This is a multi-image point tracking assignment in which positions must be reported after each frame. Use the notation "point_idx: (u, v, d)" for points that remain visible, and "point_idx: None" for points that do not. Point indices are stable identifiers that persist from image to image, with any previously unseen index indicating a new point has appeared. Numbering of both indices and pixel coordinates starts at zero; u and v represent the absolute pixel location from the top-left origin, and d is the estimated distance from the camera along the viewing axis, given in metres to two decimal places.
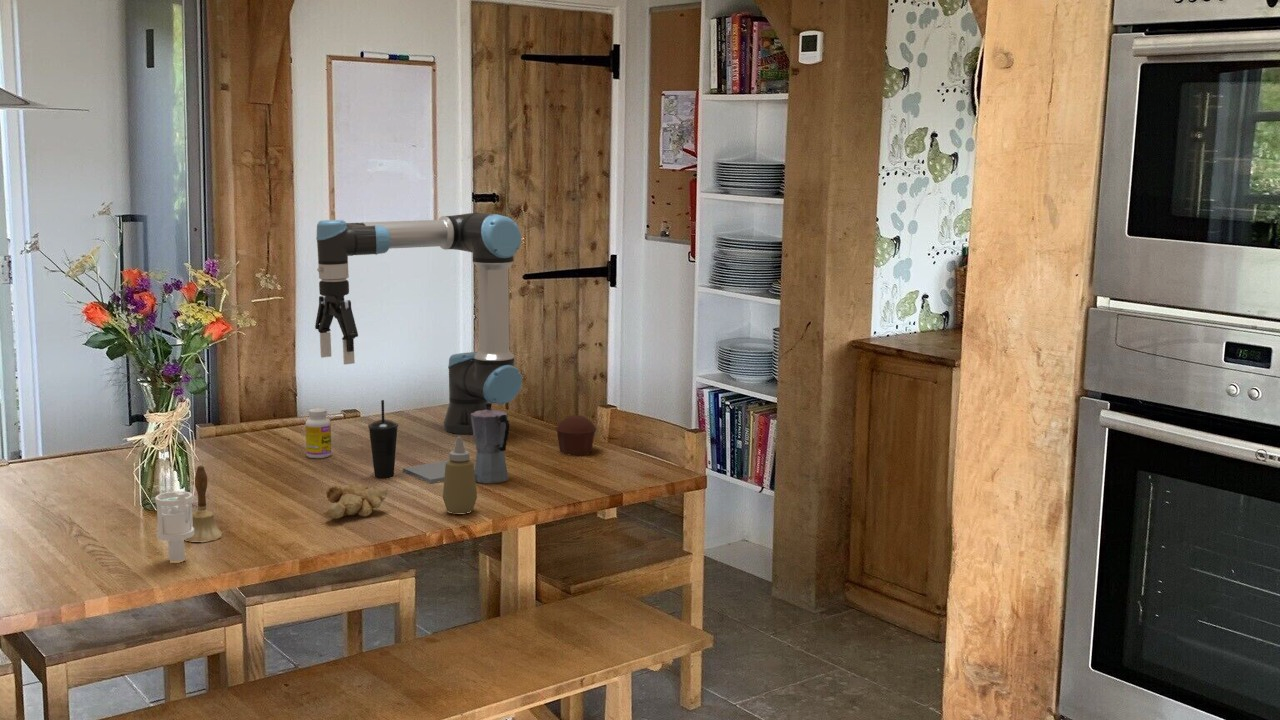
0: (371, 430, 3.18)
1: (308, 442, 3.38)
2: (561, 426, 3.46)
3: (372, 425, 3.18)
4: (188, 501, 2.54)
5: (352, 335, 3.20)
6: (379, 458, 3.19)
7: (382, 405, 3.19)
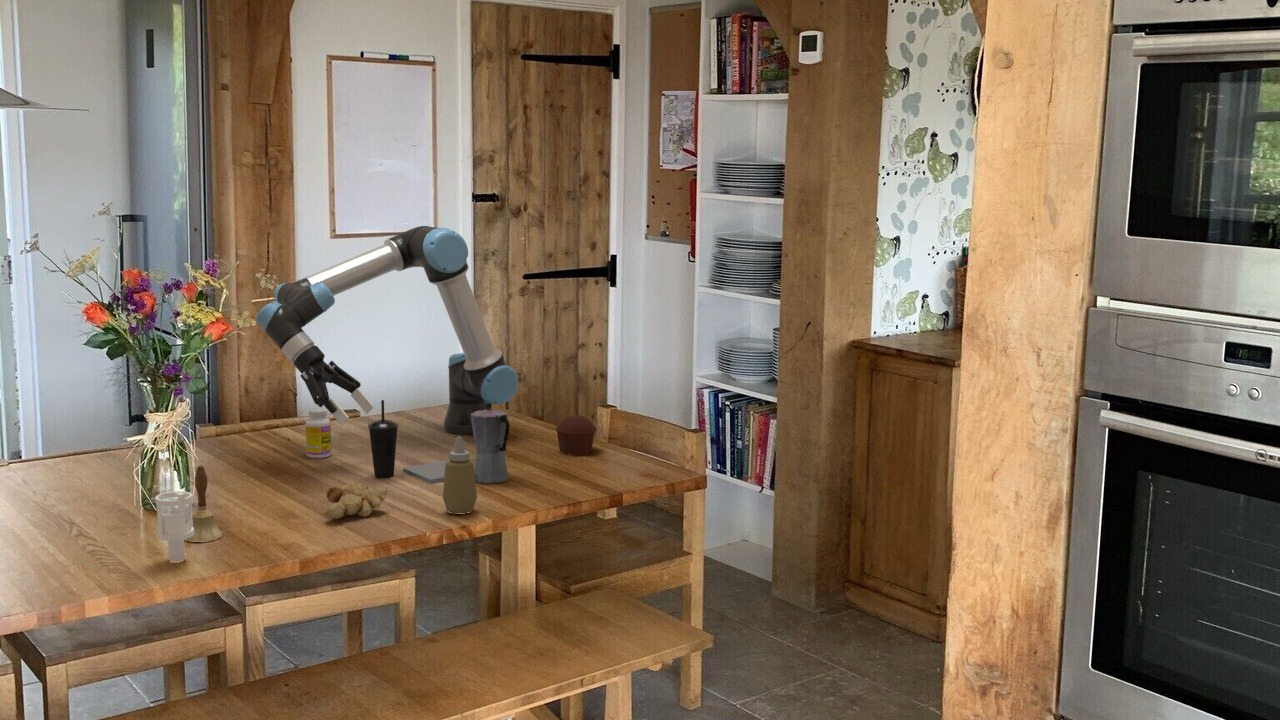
0: (371, 430, 3.18)
1: (308, 442, 3.38)
2: (561, 426, 3.46)
3: (372, 425, 3.18)
4: (188, 501, 2.54)
5: (317, 401, 3.11)
6: (379, 458, 3.19)
7: (382, 405, 3.19)
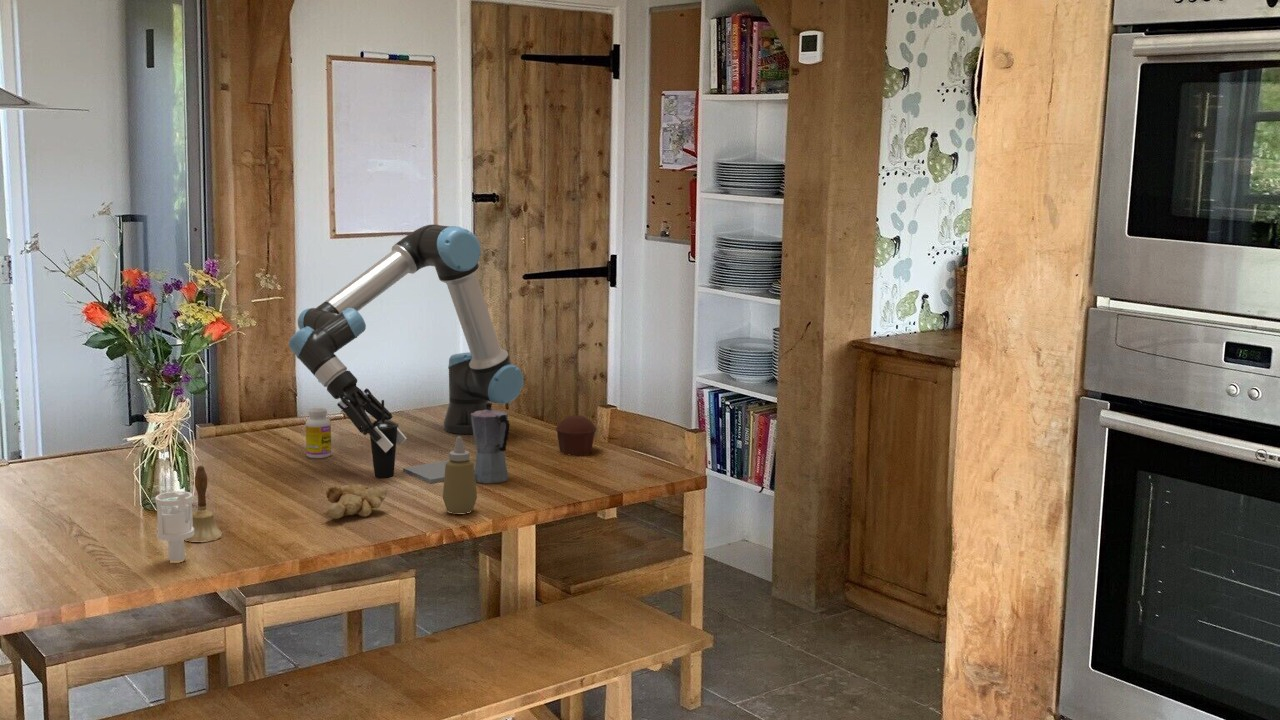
0: None
1: (308, 442, 3.38)
2: (561, 426, 3.46)
3: None
4: (188, 501, 2.54)
5: (362, 429, 3.14)
6: (379, 458, 3.19)
7: (382, 405, 3.19)
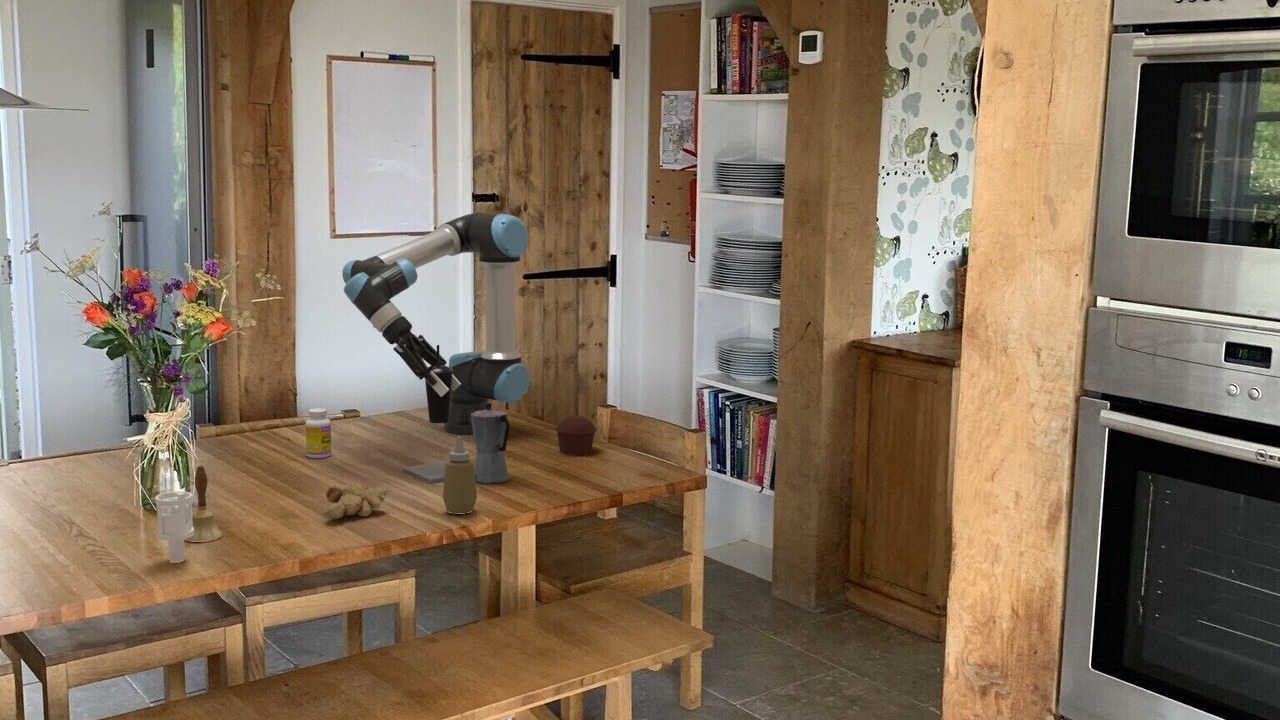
0: None
1: (308, 442, 3.38)
2: (561, 426, 3.46)
3: None
4: (188, 501, 2.54)
5: (418, 373, 3.15)
6: (434, 403, 3.20)
7: (437, 350, 3.20)
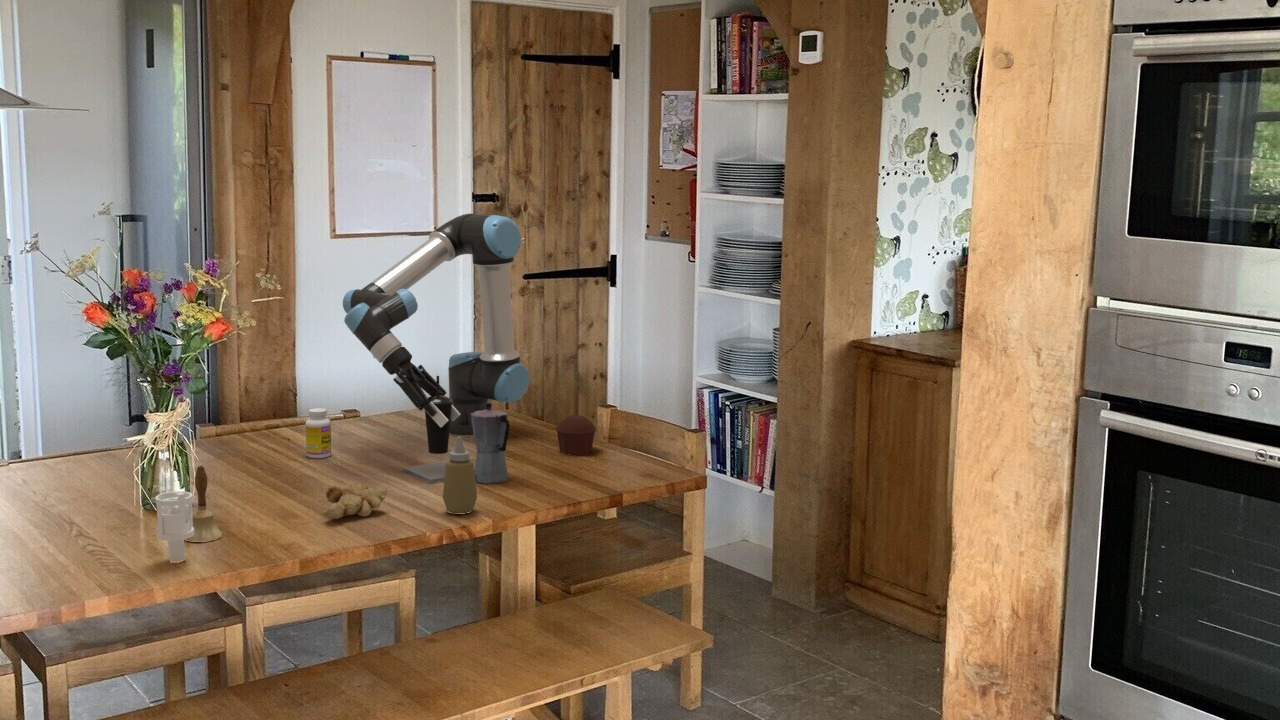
0: None
1: (308, 442, 3.38)
2: (561, 426, 3.46)
3: None
4: (188, 501, 2.54)
5: (418, 404, 3.16)
6: (434, 433, 3.21)
7: (437, 381, 3.21)
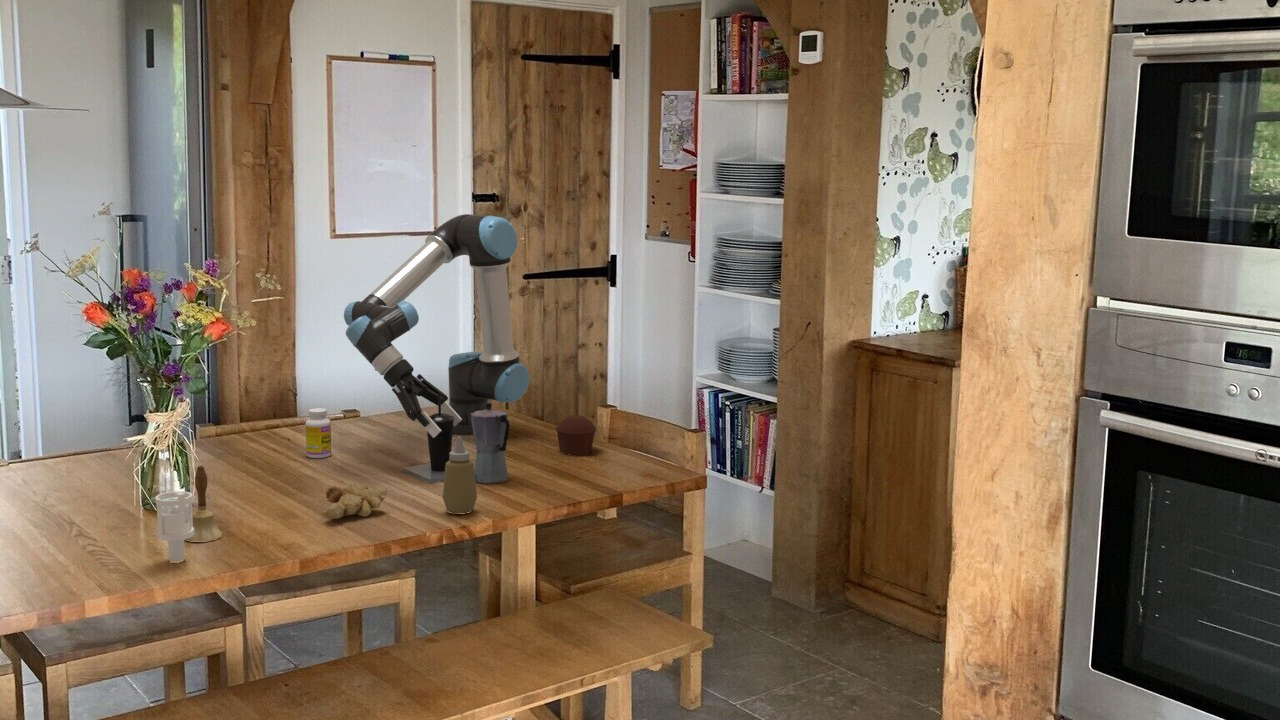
0: None
1: (308, 442, 3.38)
2: (561, 426, 3.46)
3: None
4: (188, 501, 2.54)
5: (410, 414, 3.14)
6: (436, 451, 3.22)
7: (439, 399, 3.23)
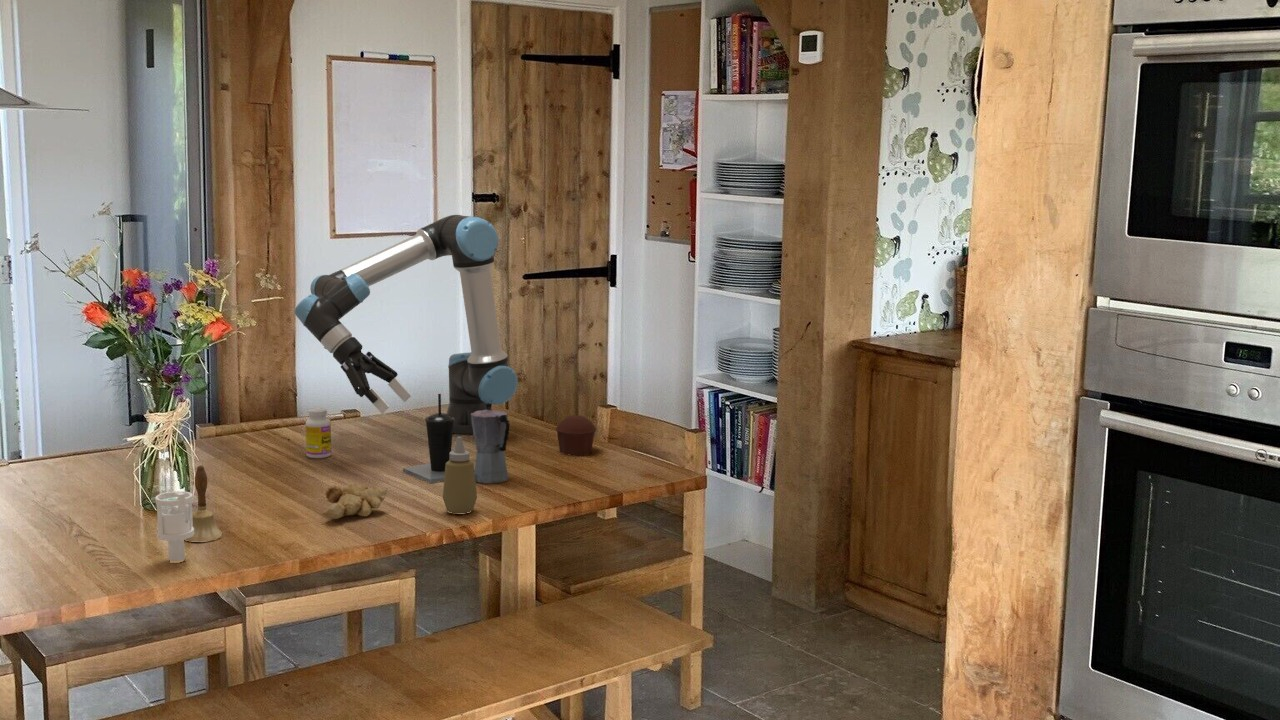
0: (428, 423, 3.21)
1: (308, 442, 3.38)
2: (561, 426, 3.46)
3: (429, 418, 3.22)
4: (188, 501, 2.54)
5: (358, 391, 3.19)
6: (436, 451, 3.22)
7: (439, 399, 3.23)
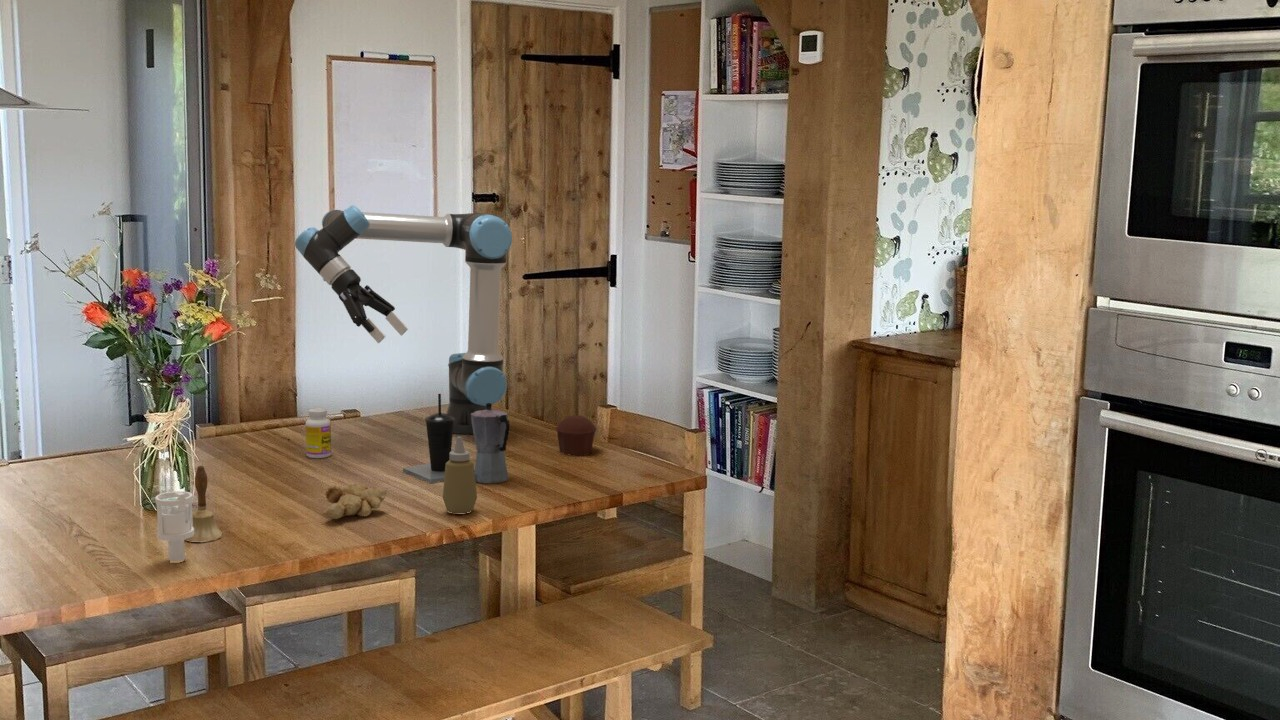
0: (428, 423, 3.21)
1: (308, 442, 3.38)
2: (561, 426, 3.46)
3: (429, 418, 3.22)
4: (188, 501, 2.54)
5: (355, 320, 3.25)
6: (436, 451, 3.22)
7: (439, 399, 3.23)
